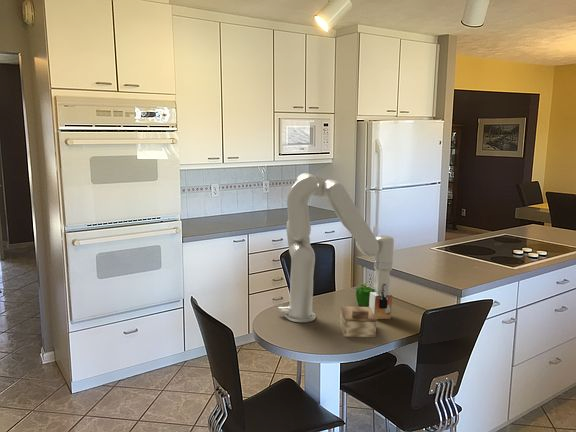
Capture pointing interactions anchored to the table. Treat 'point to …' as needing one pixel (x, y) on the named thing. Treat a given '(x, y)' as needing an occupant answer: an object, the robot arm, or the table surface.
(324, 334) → the table surface
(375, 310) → the small box
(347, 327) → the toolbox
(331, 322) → the table surface
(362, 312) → the lid
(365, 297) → the bell pepper
